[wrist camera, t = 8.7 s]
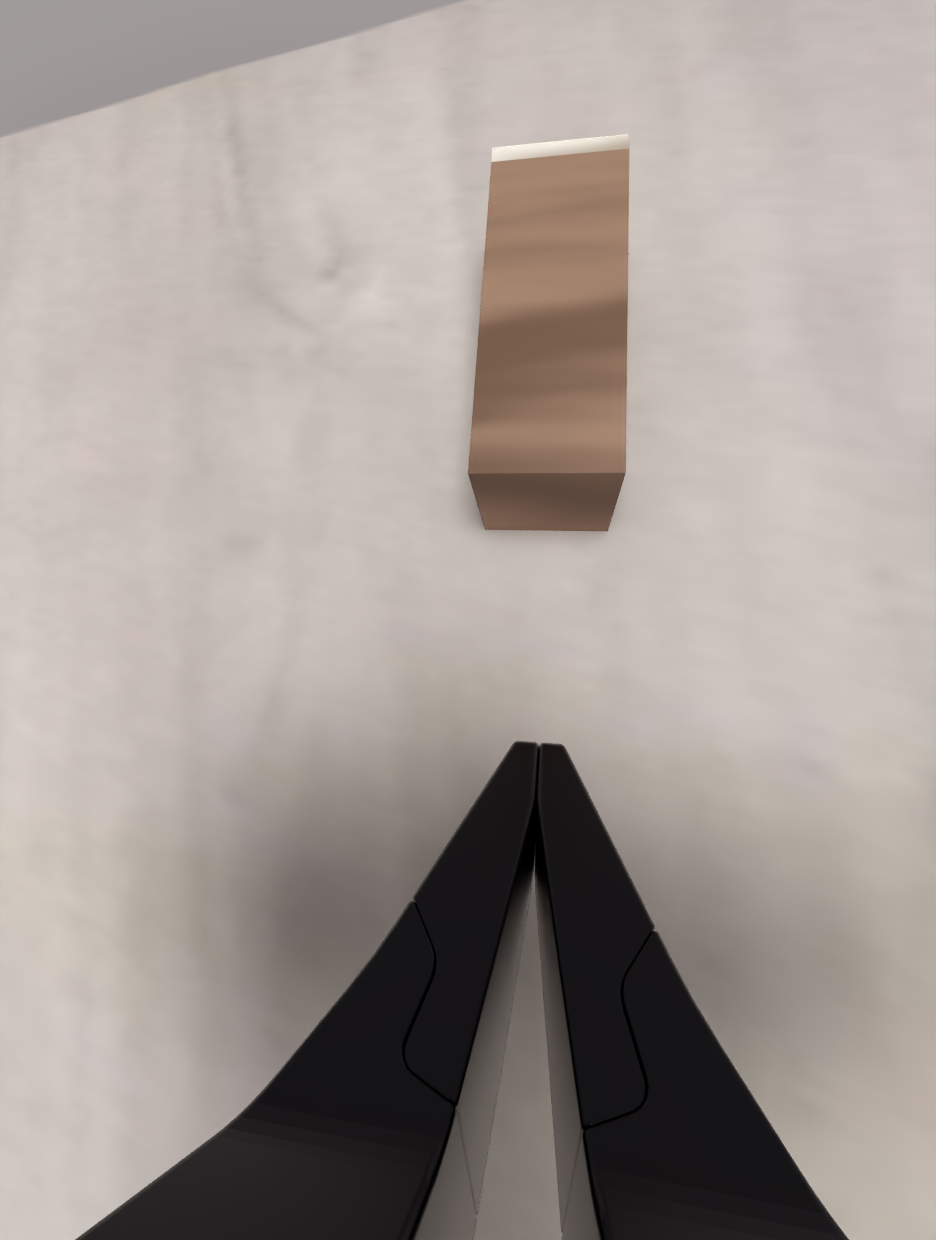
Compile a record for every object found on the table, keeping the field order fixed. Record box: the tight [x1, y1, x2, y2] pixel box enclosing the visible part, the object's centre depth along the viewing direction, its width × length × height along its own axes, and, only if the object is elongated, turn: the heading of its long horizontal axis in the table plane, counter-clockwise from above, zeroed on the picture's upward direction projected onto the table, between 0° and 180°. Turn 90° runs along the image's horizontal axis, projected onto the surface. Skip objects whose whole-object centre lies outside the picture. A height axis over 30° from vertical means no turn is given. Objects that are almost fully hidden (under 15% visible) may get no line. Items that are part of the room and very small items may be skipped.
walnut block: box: [468, 134, 629, 531], centre depth 19 cm, size 4×4×12 cm
